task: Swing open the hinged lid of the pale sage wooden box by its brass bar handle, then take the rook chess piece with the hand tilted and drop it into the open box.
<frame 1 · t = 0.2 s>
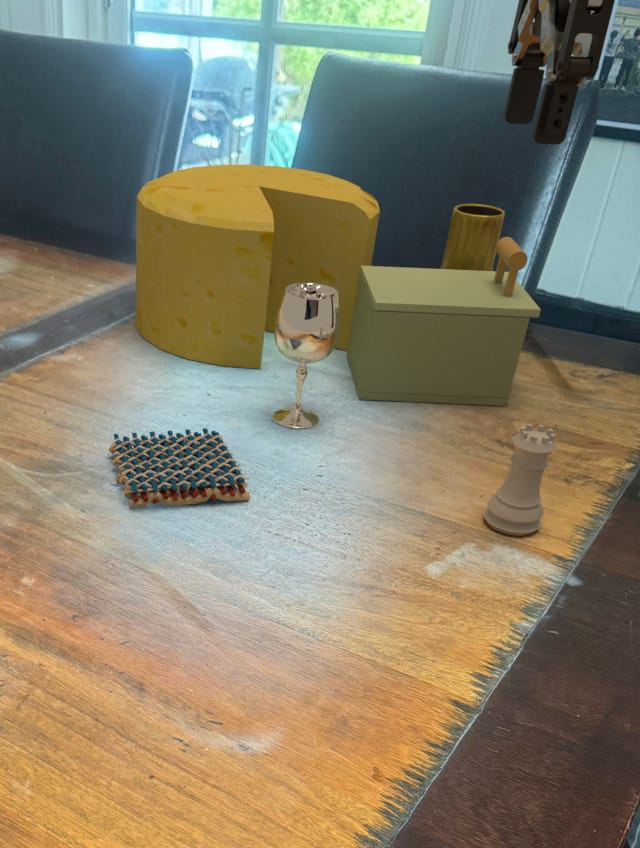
hand: (531, 132, 72), 25 cm above the table, tool pointing down, fingers open, 8 cm apart
wineglass: (295, 420, 90), on the table
rook chess piece: (510, 525, 76), on the table
chest: (422, 380, 98), on the table
woven mat: (176, 480, 80), on the table
cheese: (246, 327, 110), on the table
lid: (450, 268, 91), point 11 cm above the table, hinge at 0.0°
vase: (449, 345, 107), on the table
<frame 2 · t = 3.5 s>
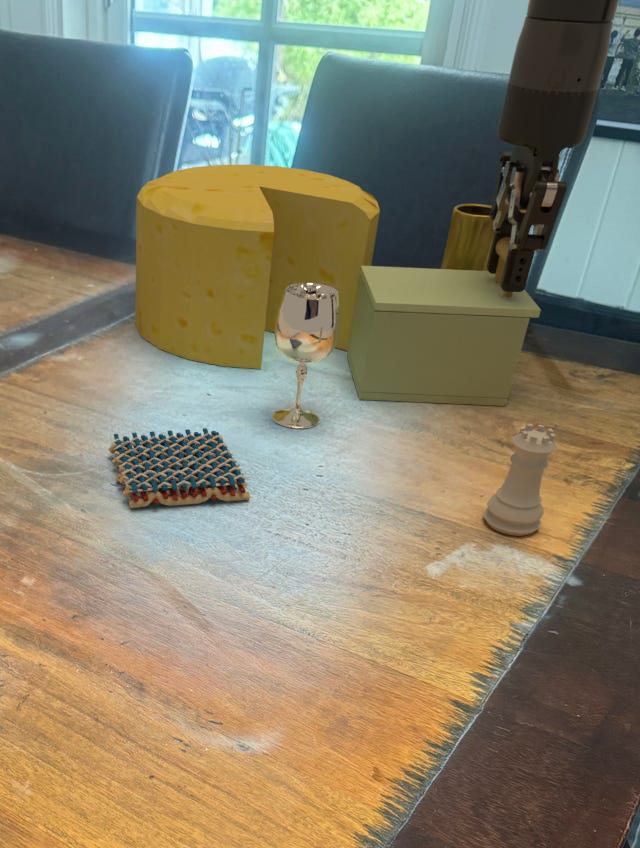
hand: (504, 280, 92), 10 cm above the table, tool pointing down, fingers closed on lid, 5 cm apart
lid: (450, 268, 91), point 11 cm above the table, hinge at 0.0°, touching gripper
everything else where it was.
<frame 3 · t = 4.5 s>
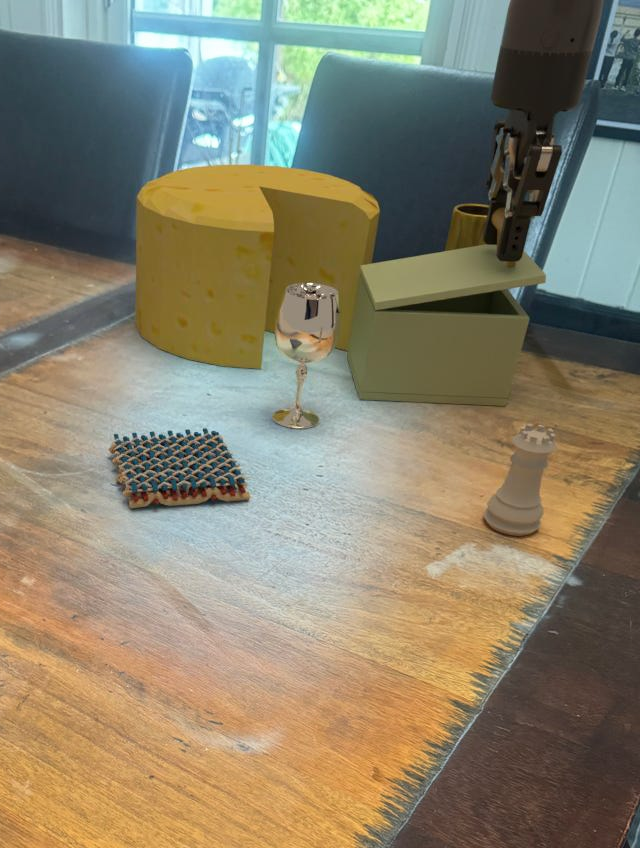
hand: (500, 250, 90), 13 cm above the table, tool pointing down, fingers closed on lid, 5 cm apart
lid: (447, 251, 91), point 13 cm above the table, hinge at 11.9°, touching gripper
everything else where it was.
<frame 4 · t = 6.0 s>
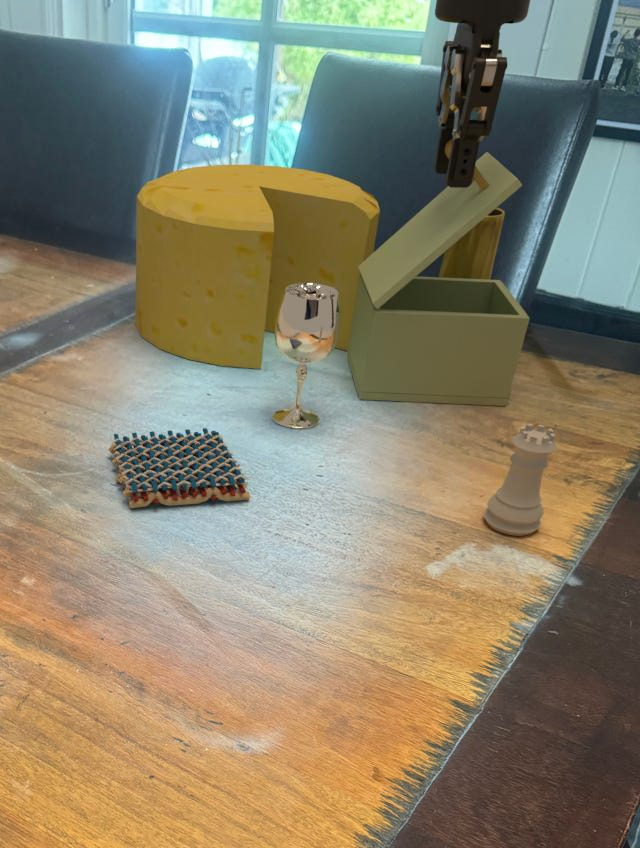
hand: (451, 178, 87), 19 cm above the table, tool pointing down, fingers closed on lid, 5 cm apart
lid: (419, 212, 89), point 16 cm above the table, hinge at 46.4°, touching gripper
everything else where it was.
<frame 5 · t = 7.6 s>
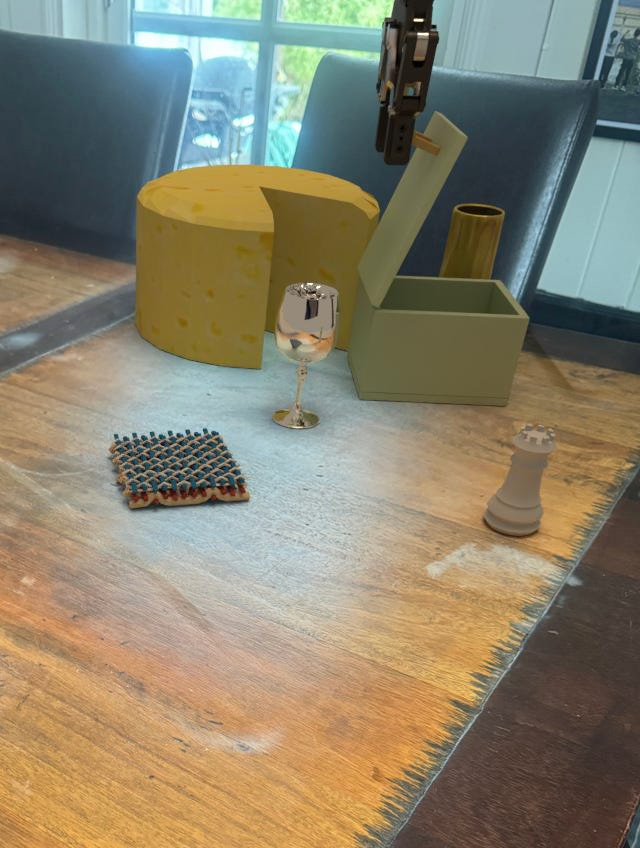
hand: (390, 156, 86), 21 cm above the table, tool pointing down, fingers closed on lid, 5 cm apart
lid: (387, 200, 88), point 17 cm above the table, hinge at 70.7°, touching gripper
everything else where it was.
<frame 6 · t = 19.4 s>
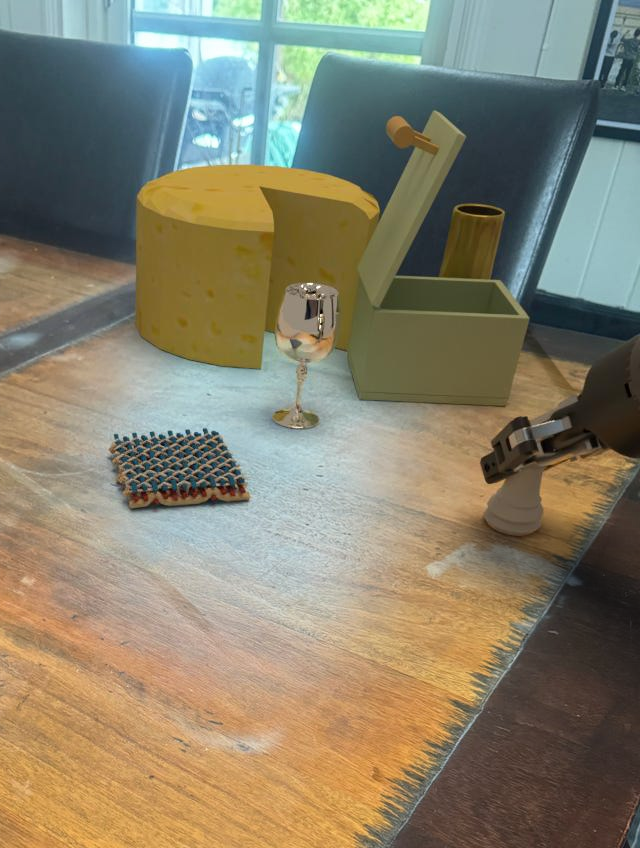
hand: (506, 467, 75), 4 cm above the table, tool tilted 45°, fingers closed on rook chess piece, 3 cm apart
rook chess piece: (509, 525, 76), on the table, touching gripper
lid: (386, 200, 88), point 17 cm above the table, hinge at 71.3°
everything else where it was.
when the fingers open (12 cm above the table, at t = 28.9 s): rook chess piece drops 7 cm, resting on chest.
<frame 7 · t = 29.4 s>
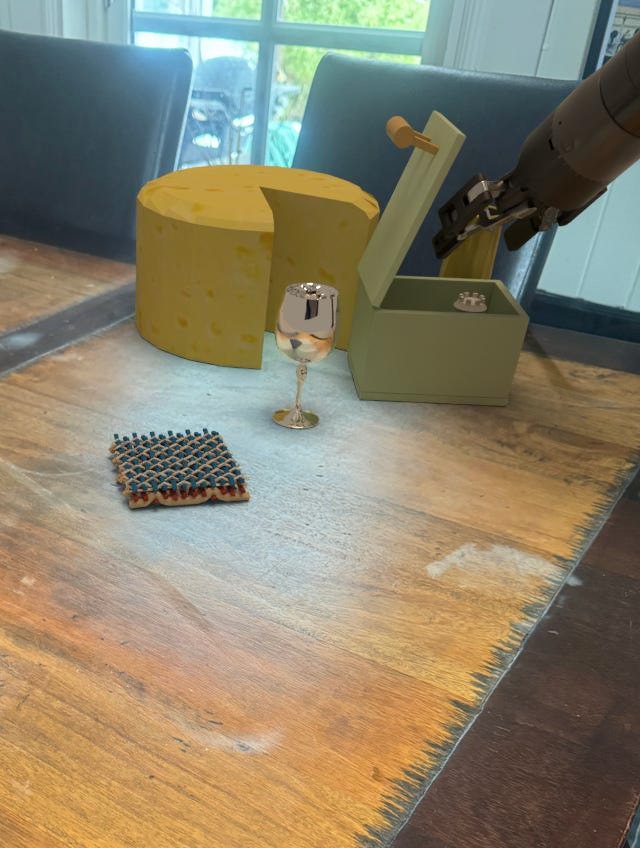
hand: (473, 246, 91), 13 cm above the table, tool tilted 45°, fingers open, 8 cm apart
rook chess piece: (454, 376, 98), point 1 cm above the table, touching chest
everything else where it was.
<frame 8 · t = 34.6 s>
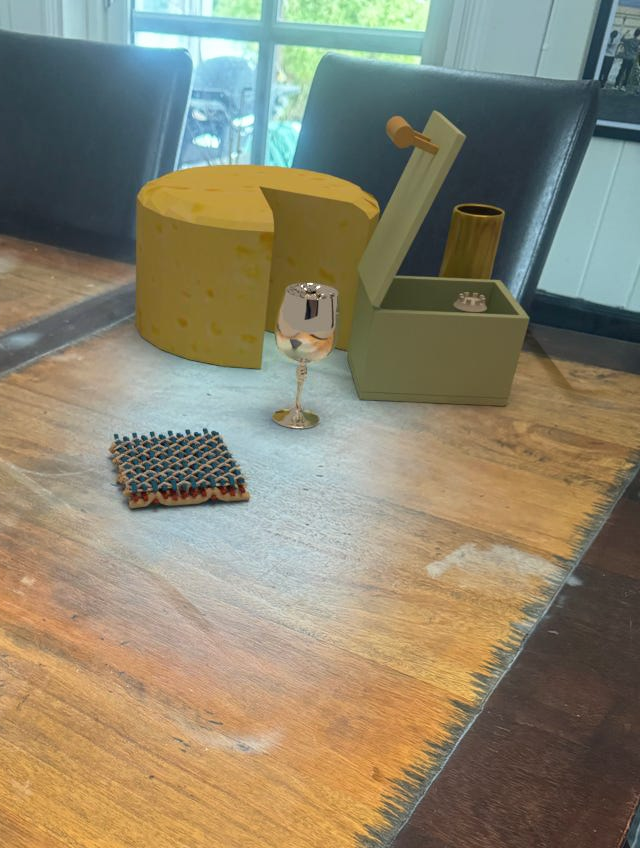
nothing on the table moved.
at the end: lid at +71° (first picture: +0°); rook chess piece inside the target area in the chest (3.1 cm from its centre), point 0.6 cm above the chest's base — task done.
